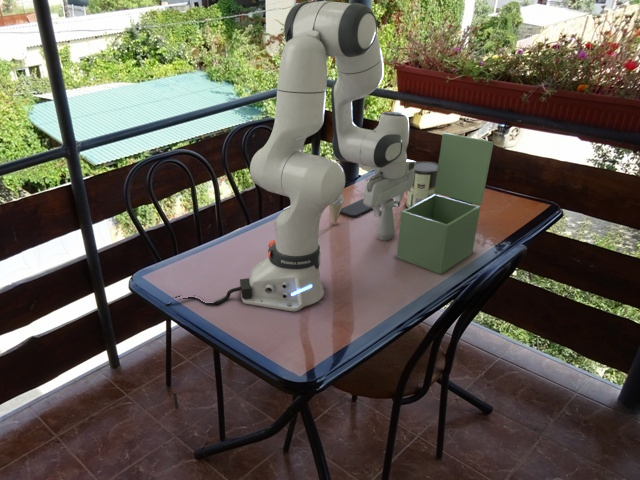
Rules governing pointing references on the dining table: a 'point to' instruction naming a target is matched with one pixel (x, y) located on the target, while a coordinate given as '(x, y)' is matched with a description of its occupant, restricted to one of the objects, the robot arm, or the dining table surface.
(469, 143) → the lid
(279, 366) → the dining table surface
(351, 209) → the phone
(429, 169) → the coffee can
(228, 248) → the dining table surface
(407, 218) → the box
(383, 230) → the salt shaker
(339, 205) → the ice cream cone
